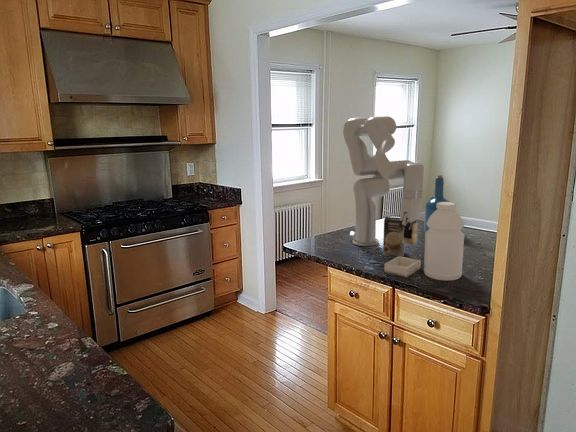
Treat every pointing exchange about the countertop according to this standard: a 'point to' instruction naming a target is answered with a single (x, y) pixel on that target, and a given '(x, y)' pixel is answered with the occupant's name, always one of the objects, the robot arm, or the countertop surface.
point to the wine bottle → (434, 200)
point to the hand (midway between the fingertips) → (409, 236)
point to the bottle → (444, 243)
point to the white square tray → (402, 266)
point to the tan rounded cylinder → (414, 234)
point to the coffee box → (393, 237)
